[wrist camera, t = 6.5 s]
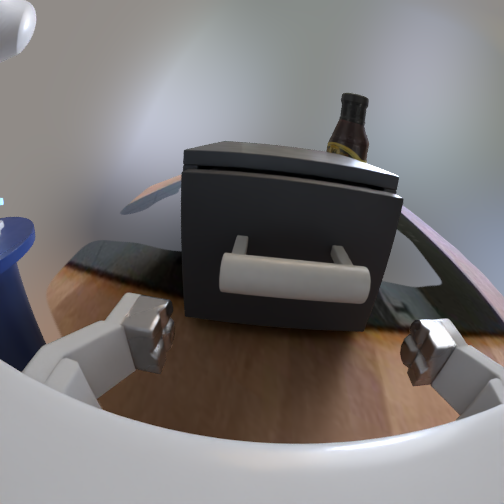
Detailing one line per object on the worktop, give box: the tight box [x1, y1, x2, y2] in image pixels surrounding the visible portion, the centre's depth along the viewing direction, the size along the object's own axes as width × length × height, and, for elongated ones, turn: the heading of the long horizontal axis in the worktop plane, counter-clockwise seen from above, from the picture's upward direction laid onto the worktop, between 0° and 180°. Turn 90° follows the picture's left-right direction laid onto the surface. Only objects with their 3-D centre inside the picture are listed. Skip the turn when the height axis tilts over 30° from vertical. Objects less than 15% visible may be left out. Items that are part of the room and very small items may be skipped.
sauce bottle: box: [327, 93, 369, 163], centre depth 38 cm, size 6×6×20 cm
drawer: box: [181, 166, 403, 332], centre depth 19 cm, size 18×12×9 cm, turn 177°
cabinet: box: [183, 141, 399, 194], centre depth 23 cm, size 15×13×11 cm
